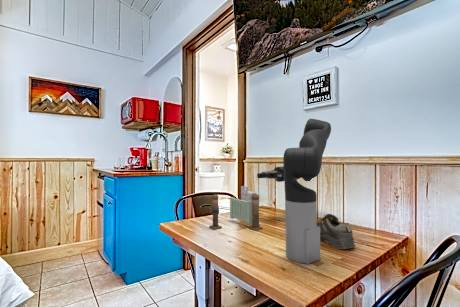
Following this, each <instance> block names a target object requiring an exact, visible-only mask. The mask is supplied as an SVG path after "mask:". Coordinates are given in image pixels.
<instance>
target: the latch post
mask: <svg viewBox="0 0 460 307" xmlns="http://www.w3.org/2000/svg"><path fill="white" fill-rule="evenodd" d="M211 199H212V206H211V213H212V225H209V226H208V227H209V229H211V230H213V231H215V230H219V229H220V230H221V229H222V226H221V225H219V212H220V209H219V208H220V207H219V195H218V194H217V193H215V194H212V196H211Z"/></svg>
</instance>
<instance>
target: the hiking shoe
mask: <svg viewBox="0 0 460 307" xmlns="http://www.w3.org/2000/svg"><path fill="white" fill-rule="evenodd" d="M317 226H318V227H320V242H328V243H330V246H331V247H332V246H333V247H332V248H335V249H336V250H346V249H347V250H348V249H352V248H355V247H356V246H355V245H356V244H355V241H354V240H355V238H354V236H353V229H352V227H351V224H350V223H349V222H347V223H346V222H340V221H339V218H338V217H337V216H336V215H334V214H331V213H327V214H326V215H324V216H323V217H322V218H321V219H320V220H317Z"/></svg>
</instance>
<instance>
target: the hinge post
mask: <svg viewBox="0 0 460 307" xmlns="http://www.w3.org/2000/svg"><path fill="white" fill-rule="evenodd" d="M251 199H252V224H251V225H250V226H248V229H250V230H253V231H259V230H263V226H260V196H259V194H257V192H256V193H255V194H253V195H252V196H251Z"/></svg>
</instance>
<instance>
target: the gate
mask: <svg viewBox="0 0 460 307" xmlns="http://www.w3.org/2000/svg"><path fill="white" fill-rule="evenodd" d="M229 214H230V215H229V216H230V217H229V218H230V219H237V220H239V221H243V222H246V224H247V225H250V226H251V225H252V201H244V200H241V199H239V198H235V196H232V197H231V196H230V197H229Z"/></svg>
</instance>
